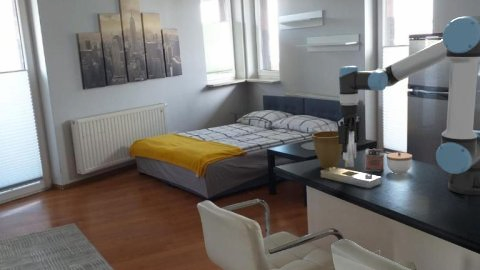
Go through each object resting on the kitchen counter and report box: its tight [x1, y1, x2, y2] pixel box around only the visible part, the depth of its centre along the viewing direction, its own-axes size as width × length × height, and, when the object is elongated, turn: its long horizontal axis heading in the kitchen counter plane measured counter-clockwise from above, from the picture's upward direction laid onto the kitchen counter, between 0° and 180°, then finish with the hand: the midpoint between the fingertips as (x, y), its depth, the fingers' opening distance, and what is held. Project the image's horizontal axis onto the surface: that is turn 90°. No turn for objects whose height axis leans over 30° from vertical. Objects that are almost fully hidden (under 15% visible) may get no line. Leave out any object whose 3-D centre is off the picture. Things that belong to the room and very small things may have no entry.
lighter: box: [365, 148, 385, 172], centre depth 218 cm, size 8×3×10 cm, turn 62°
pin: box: [344, 130, 356, 168], centre depth 204 cm, size 4×4×15 cm
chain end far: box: [320, 166, 362, 182], centre depth 210 cm, size 16×8×4 cm, turn 39°
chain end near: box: [338, 172, 382, 189], centre depth 202 cm, size 16×8×4 cm, turn 39°
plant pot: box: [311, 130, 343, 169], centre depth 228 cm, size 15×15×16 cm
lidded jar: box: [386, 151, 413, 175], centre depth 213 cm, size 11×11×9 cm
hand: (349, 158), depth 205 cm, fingers closed on pin, 4 cm apart
